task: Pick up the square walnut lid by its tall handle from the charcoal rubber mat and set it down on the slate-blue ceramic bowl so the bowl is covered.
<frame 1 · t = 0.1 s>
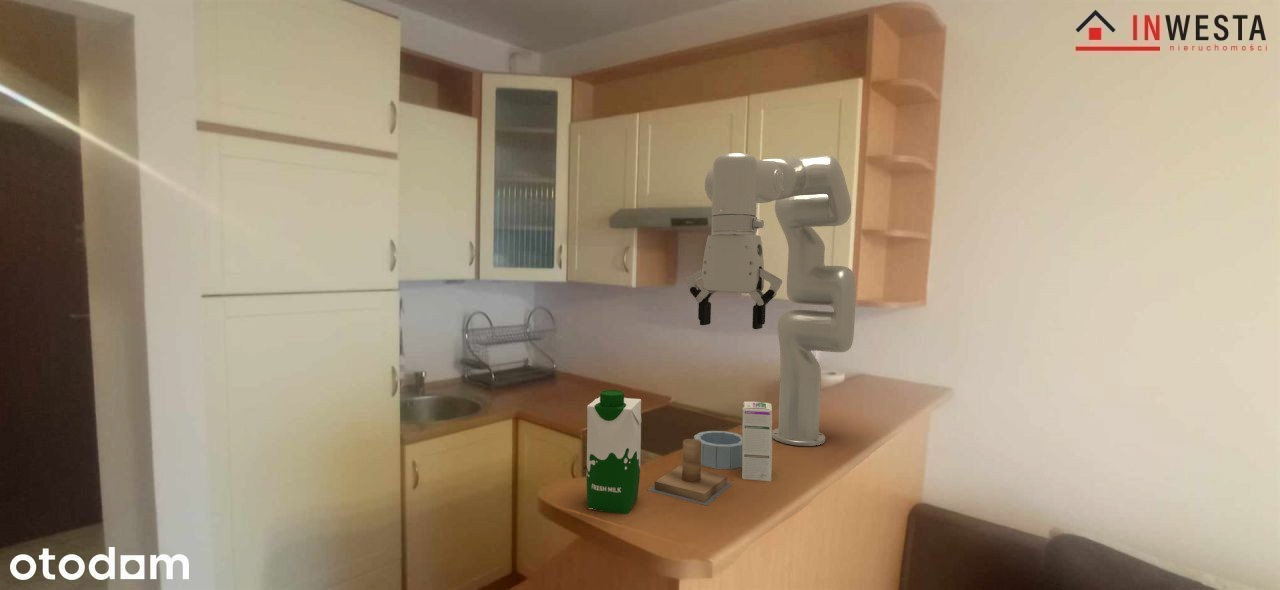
hand: (730, 326, 97), 31 cm above the counter, tool pointing down, fingers open, 9 cm apart
mat: (691, 488, 104), on the counter
lid: (691, 486, 104), resting on mat
bowl: (719, 461, 119), on the counter
syrup box: (755, 477, 111), on the counter
milk carton: (613, 506, 96), on the counter
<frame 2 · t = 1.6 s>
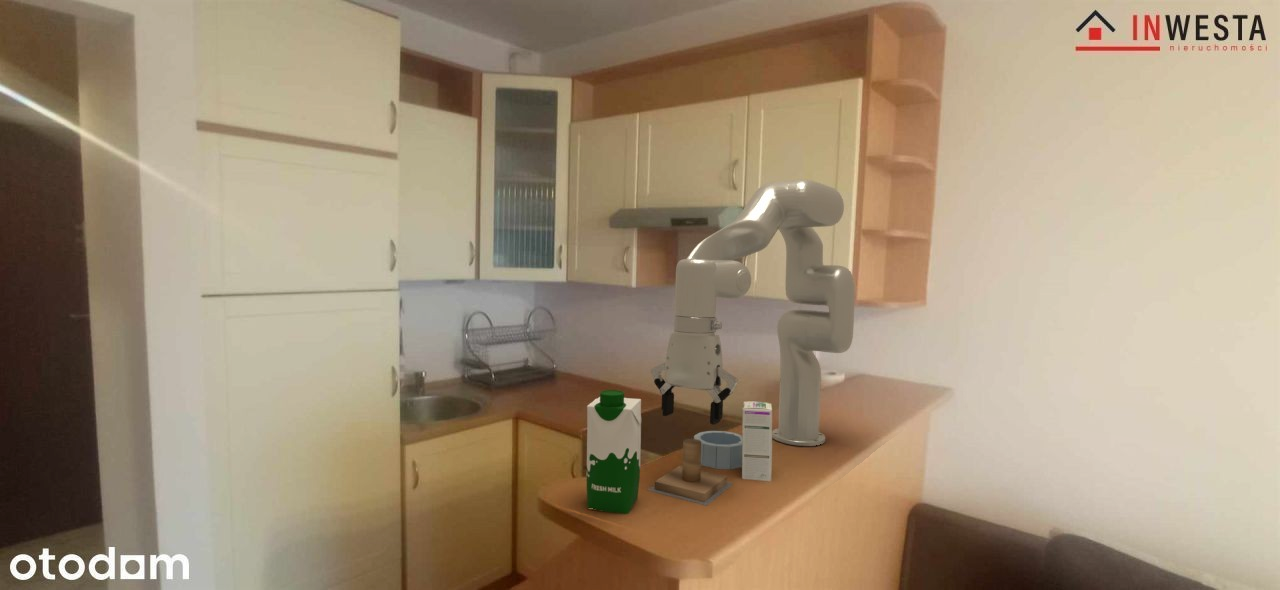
hand: (691, 418, 103), 13 cm above the counter, tool pointing down, fingers open, 9 cm apart
nothing on the counter moved.
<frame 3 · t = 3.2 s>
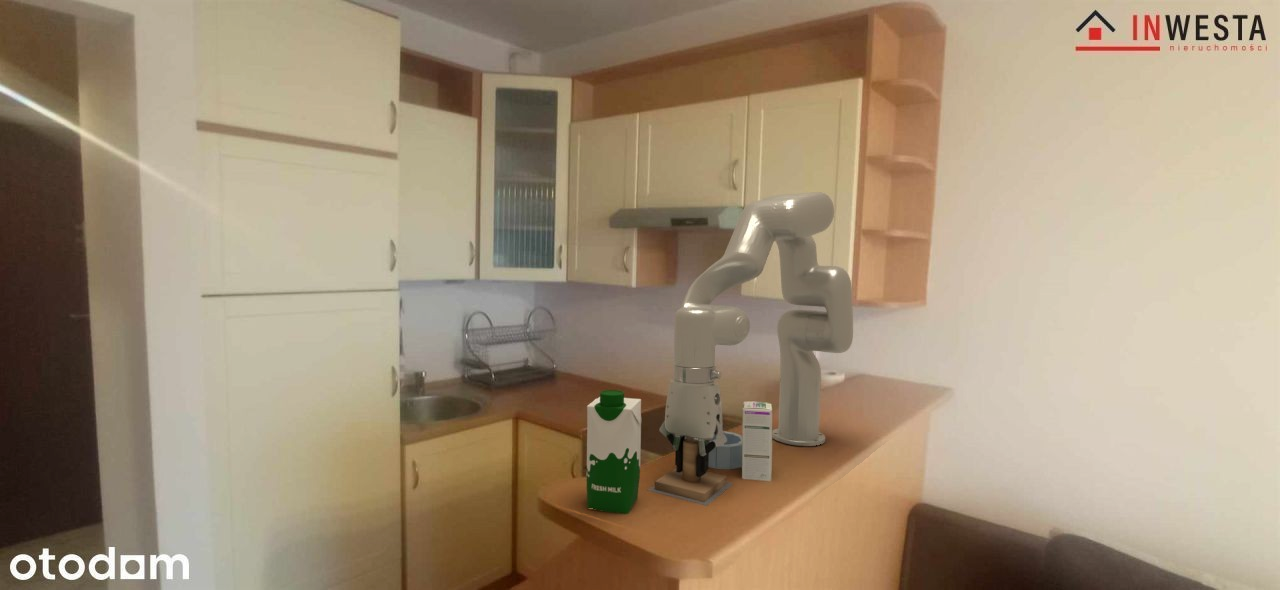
hand: (691, 471, 104), 3 cm above the counter, tool pointing down, fingers closed on lid, 3 cm apart
lid: (691, 486, 104), resting on mat, touching gripper
everything else where it was.
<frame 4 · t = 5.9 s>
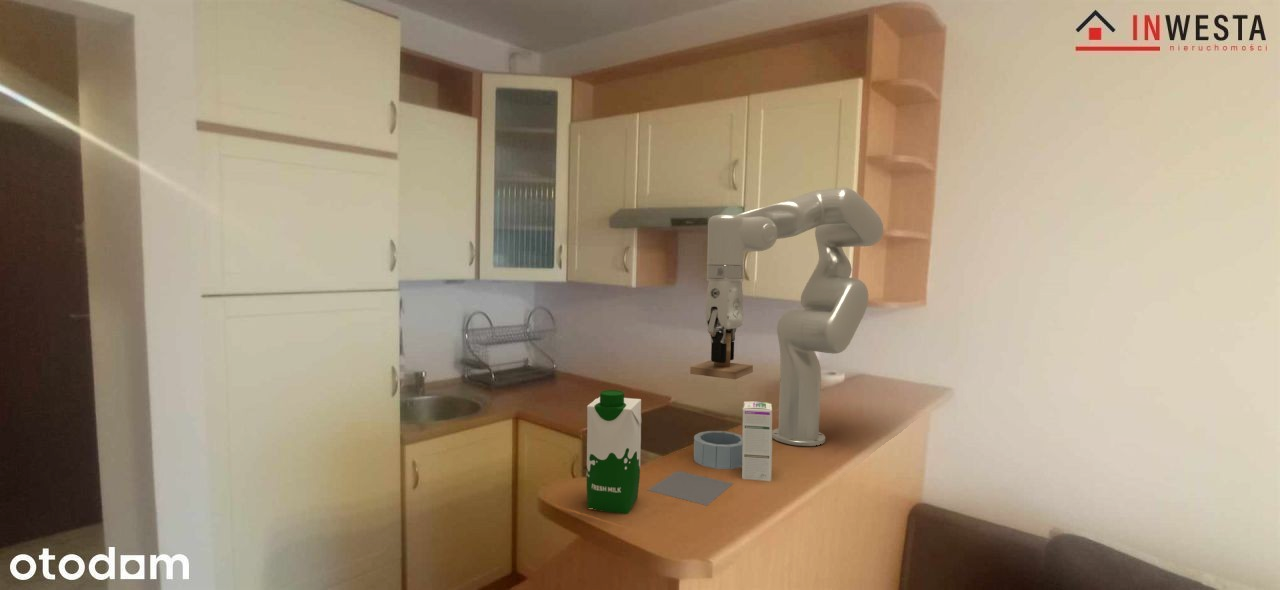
hand: (722, 359, 118), 22 cm above the counter, tool pointing down, fingers closed on lid, 3 cm apart
lid: (721, 373, 118), point 19 cm above the counter, touching gripper
everything else where it was.
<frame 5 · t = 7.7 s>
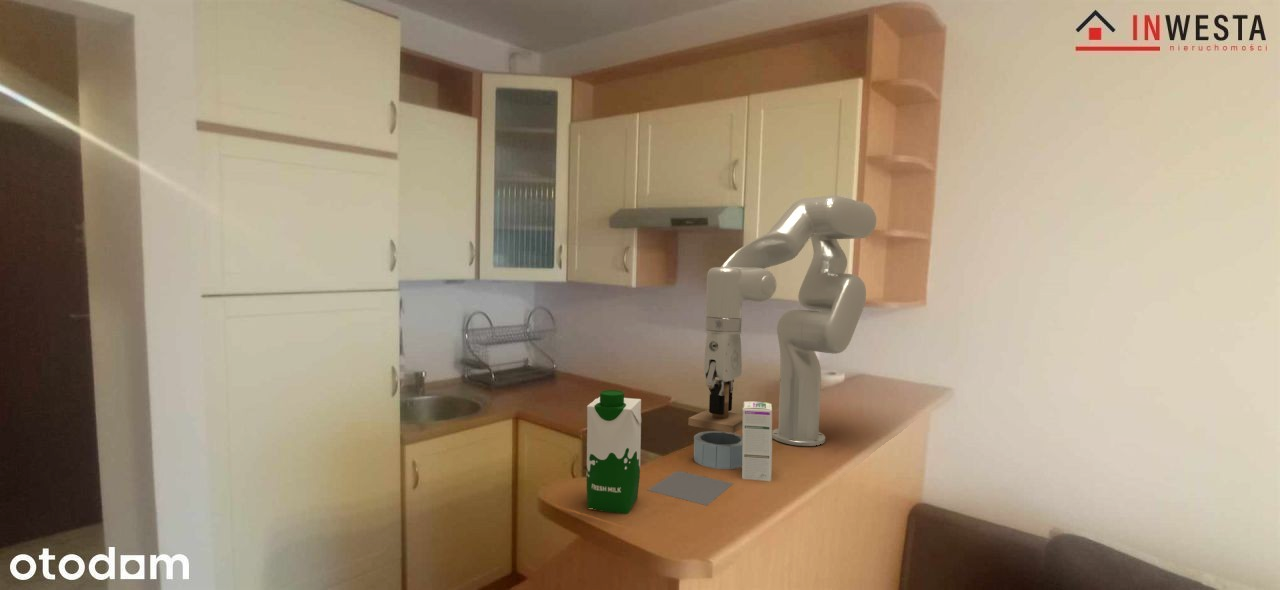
hand: (720, 410, 118), 11 cm above the counter, tool pointing down, fingers closed on lid, 3 cm apart
lid: (719, 423, 119), point 8 cm above the counter, touching gripper
everything else where it was.
when the fingers open (9 cm above the counter, at t = 8.8 s): lid drops 1 cm, resting on bowl.
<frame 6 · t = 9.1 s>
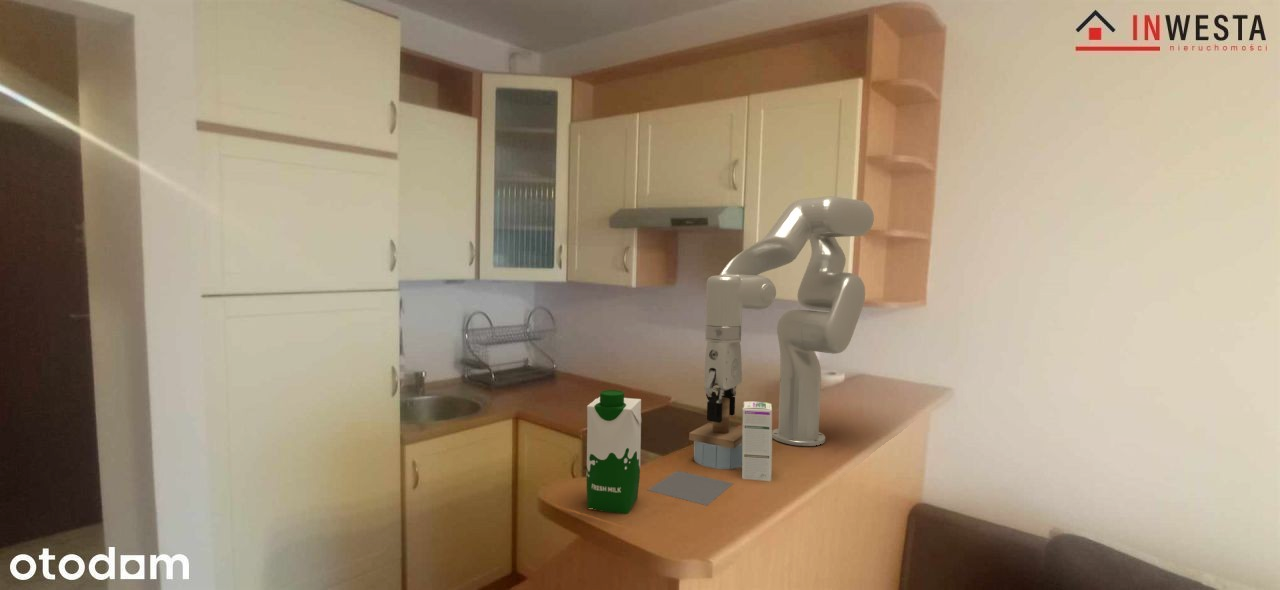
hand: (721, 417, 119), 10 cm above the counter, tool pointing down, fingers open, 6 cm apart
lid: (720, 438, 119), point 5 cm above the counter, touching bowl
everything else where it was.
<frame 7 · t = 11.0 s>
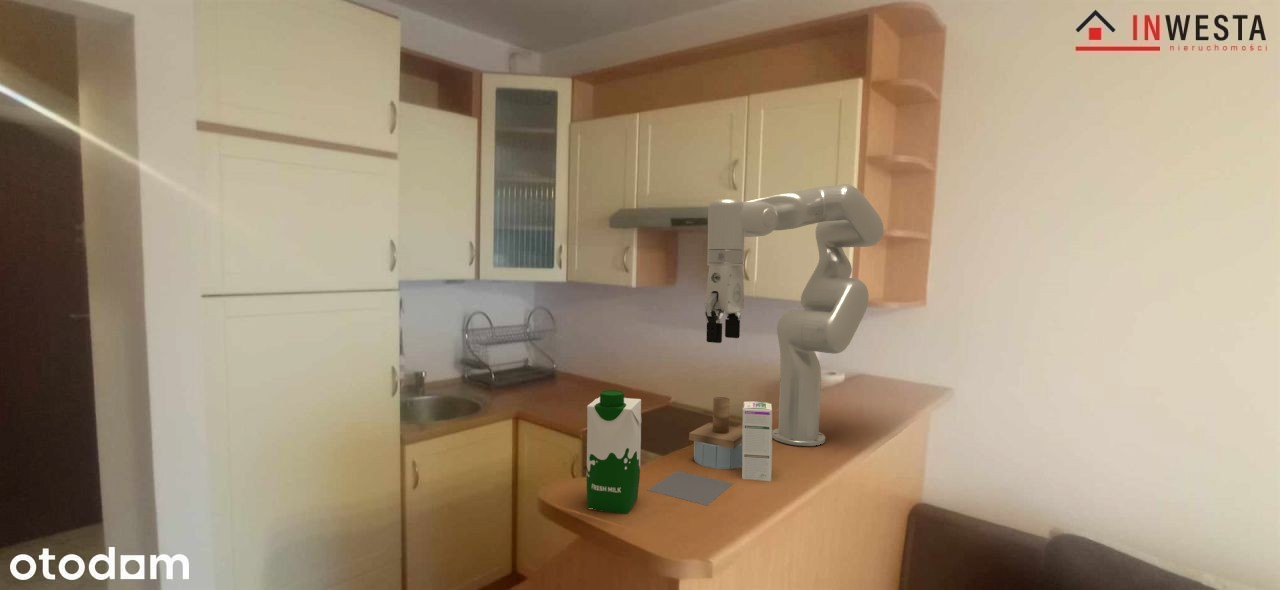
hand: (723, 339, 118), 26 cm above the counter, tool pointing down, fingers open, 9 cm apart
nothing on the counter moved.
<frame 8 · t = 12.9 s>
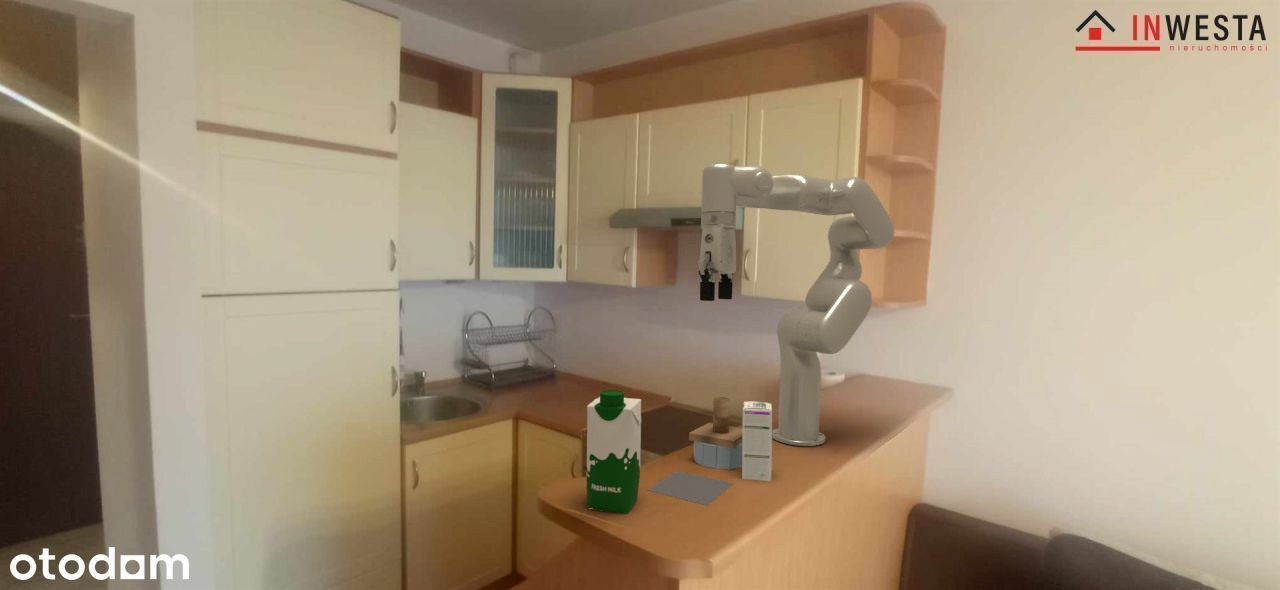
hand: (716, 299, 123), 34 cm above the counter, tool pointing down, fingers open, 9 cm apart
nothing on the counter moved.
at the end: lid 0.1 cm off-centre on the bowl, point 5.0 cm above the bowl's base; lid tilted 0°; the gripper is holding nothing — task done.
